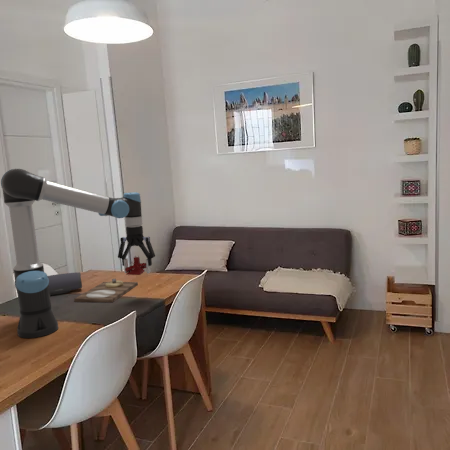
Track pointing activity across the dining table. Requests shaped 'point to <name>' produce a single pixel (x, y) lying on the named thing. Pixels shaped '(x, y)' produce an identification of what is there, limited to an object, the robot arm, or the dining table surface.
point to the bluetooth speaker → (64, 283)
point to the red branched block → (136, 267)
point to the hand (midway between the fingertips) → (137, 272)
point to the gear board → (106, 291)
